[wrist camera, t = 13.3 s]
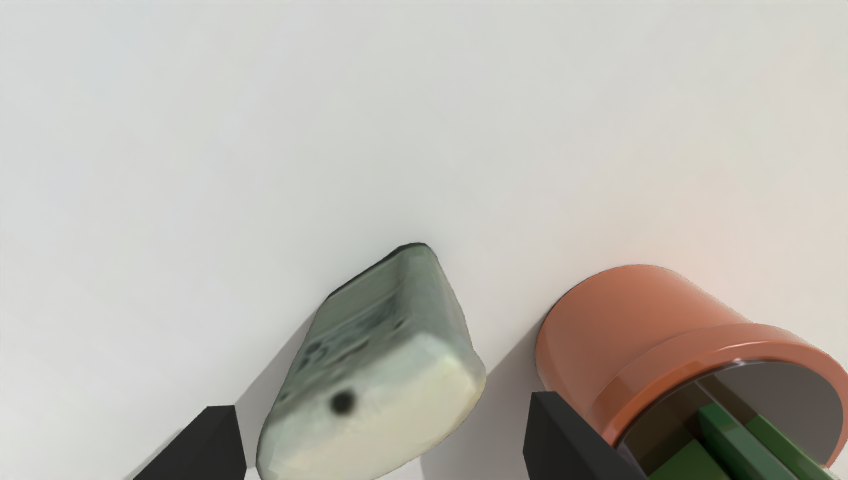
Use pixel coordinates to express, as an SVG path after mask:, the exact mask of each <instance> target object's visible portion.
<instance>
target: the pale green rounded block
mask: <svg viewBox="0 0 848 480" xmlns="http://www.w3.org/2000/svg"><path fill="white" fill-rule="evenodd" d="M486 380H487V376H486V369H485V366H484V364H483V362H482V361H481V359H480V358H479V356H478V355H477V353H476V352H475V351H474V349H473V347H472V343H471V339H470V335H469V332H468V328H467V324H466V320H465V316H464V314H463V311H462V308H461V306H460V304H459V302H458V300H457V298H456V296H455V293H454V291H453V289H452V288H451V286H450V284H449V282H448V280H447V278H446V276H445V274H444V272H443V270H442V268H441V266H440V264H439V262H438V259H437V256H436V255H435V253H434V252H433V251H432V250H431V248H430V247H429V246H428V245H426V244H425V243H410V244H407V245H402V246H399V247H398V248H397V249H395V250H394V251H392V252H391V253H390V254H389V255H387V256H386V257H385V258H383V259H382V260H381V261H379V262H377V263H376V264H374V265H373V266H371V267H370V268H368V269H366V270H365V271H363V272H362V273H360V274H359V275H357V276H356V277H354V278H353V279H351V280H350V281H348V282H347V283H345V284H344V285H342V286H341V287H339V288H338V289H336V290H335V291H333V292H332V293H331V294H330V295H329V296H328V298H327V299H326V300H325V302H324V303H323V304H322V306H321V307H320V308H319V309H318V311H317V313H316V315H315V317H314V320H313V322H312V324H311V326H310V329H309V331H308V333H307V335H306V337H305V340H304V342H303V344H302V346H301V348H300V349H299V351H298V353H297V355H296V357H295V359H294V361H293V363H292V365H291V367H290V369H289V372H288V374H287V377H286V379H285V381H284V383H283V385H282V387H281V389H280V392H279V394H278V396H277V398H276V400H275V402H274V405H273V407H272V409H271V411H270V413H269V414H268V416H267V418H266V419H265V422H264V425H263V427H262V430H261V433H260V436H259V441H258V446H257V453H256V468H257V471H258V474H259V476H260V478H261V480H374V479H376V478H379V477H381V476H383V475H385V474H387V473H389V472H391V471H393V470H395V469H397V468H399V467H401V466H403V465H404V464H406V463H407V462H409V461H411V460H413V459H415V458H417V457H418V456H420V455H422V454H424V453H425V452H427V451H428V450H430V449H431V448H433V447H434V446H436V445H437V444H438V443H440V442H441V441H442V440H444V439H445V438H446V437H448V436H449V435H450V434H451V433H452V432H453V431H454V430H455V429H456V428H457V427H458V426H459V425H460V424H461V423H462V422H463V421H464V420H465V418H466V417H467V416H468V415H469V413H470V412H471V410H472V409H473V407H474V406H475V404H476V403H477V402H478V400H479V399H480V397H481V395H482V393H483V390H484V388H485V384H486Z"/></svg>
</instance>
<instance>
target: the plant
mask: <svg viewBox="0 0 848 480" xmlns="http://www.w3.org/2000/svg"><path fill="white" fill-rule="evenodd" d="M535 362H536V368H537V372H538V374H539V377H540V379H541V381H542V383H543V385H544V387H545V389H546V391H556V392H557V393H558V394H559V395H560V396H561V397H562V398H563V399H564V400H565V401H566V402H567V403H568V404H569V405H570V406H571V407H572V408H573V409H574V410H575V411H576V412H577V413H578V414H579V415H580V416H581V417H582V418H583V419H584V420H585V421H586V422H587V423H588V424H589V425H590V426H591V427H592V428H593V429H594V430H595V431H596V432H597V433H598V434H599V435H600V436H601V437H602V438H603V439H604V440H605V441H606V442H607V443H608V444H609V445H611V446H612V447H613V448H614V449H615V450H616V451H617V452H618V453H619V454H620V455H621V456H622V457H623V458H624V459H625V460H626V461H627V462H628V463H630V464H631V465H632V466H633V467H634V468H635V469H636V470H637V471H638V472H639V473H640V474H641V475H643V476H644V477H645V478H646V479H647V480H841V479H840V478H838V477H837V476H836V475H835V474H834V473H833V472H832V471H830V470H829V468H830V467H831V465H832V464H833V463H834V462H835V460H836V459H837V457H838V456H839V454H840V452H841V451H842V449H843V448H844V446H845V444H846V442H847V439H848V374H847V373H846V372H845V370H844V369H843V368H842V366H841V365H840V364H839V363H838V362H837V361H836V360H835V359H833V358H832V357H831V356H830V355H829V354H827V353H825V352H824V351H822V350H820V349H819V348H817V347H815V346H814V345H812V344H811V343H809V342H807V341H806V340H804V339H802V338H801V337H799V336H797V335H795V334H793V333H791V332H790V331H787V330H784V329H781V328H778V327H775V326H770V325H764V324H758V323H753V322H752V321H750V320H749V319H747V318H745V317H744V316H742V315H741V314H739V313H738V312H736V311H735V310H733V309H732V308H730V307H729V306H727V305H725V304H724V303H722V302H721V301H719V300H718V299H716V298H715V297H713V296H712V295H710V294H709V293H707V292H705V291H704V290H702V289H701V288H699V287H698V286H696V285H695V284H693V283H692V282H690V281H689V280H687V279H685V278H684V277H682V276H681V275H679V274H677V273H675V272H673V271H671V270H668V269H665V268H663V267H658V266H652V265H627V266H622V267H616V268H613V269H610V270H606V271H603V272H601V273H599V274H596V275H594V276H592V277H590V278H588V279H586V280H585V281H583V282H581V283H580V284H578V285H577V286H575V287H574V288H573V289H571V290H570V291H569V292H568V293H567V294H566V295H564V296H563V297H562V298H561V299H560V300H559V301H558V303H557V304H556V305H555V306H554V307H553V308H552V310H551V311H550V313H549V314H548V315H547V317H546V319H545V321H544V323H543V324H542V327H541V329H540V332H539V334H538V338H537V342H536V349H535Z"/></svg>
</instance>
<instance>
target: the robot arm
mask: <svg viewBox="0 0 848 480" xmlns="http://www.w3.org/2000/svg"><path fill="white" fill-rule="evenodd" d="M523 455H524V459H525V463H526V467H527V471H528V475H529V478H530V480H647V479H646V478H645V477H644V476H643V475H641V474H640V473H639V472H638V471H637V470H636V469H635V468H634V467H633V466H632V465H631V464H630V463H628V462H627V461H626V460H625V459H624V458H623V457H622V456H621V455H620V454H619V453H618V452H617V451H616V450H615V449H614V448H613V447H612V446H611V445H609V444H608V443H607V442H606V441H605V440H604V439H603V438H602V437H601V436H600V435H599V434H598V433H597V432H596V431H595V430H594V429H593V428H592V427H591V426H590V425H589V424H588V423H587V422H586V421H585V420H584V419H583V418H582V417H581V416H580V415H579V414H578V413H577V412H576V411H575V410H574V409H573V408H572V407H571V406H570V405H569V404H568V403H567V402H566V401H565V400H564V399H563V398H562V397H561V396H560V395H559V394H558V393H557V392H556V391H544V392H532V395H531V402H530V408H529V415H528V421H527V427H526V434H525V440H524V447H523ZM246 470H247V466H246V461H245V456H244V451H243V446H242V441H241V436H240V431H239V426H238V421H237V416H236V411H235V406H234V405H228V406H207V407H206V408H205V409H204V410H203V411H202V412H201V413H200V414H199V415H198V416H197V417H196V418H195V419H194V420H193V421H192V422H191V423H190V424H189V425H188V426H187V427H186V428H185V429H184V430H183V431H182V432H181V433H180V434H179V435H178V436H177V437H176V438H175V439H174V440H173V441H172V442H171V443H170V444H169V445H168V446H167V447H166V448H165V449H164V450H163V451H162V452H161V453H160V454H159V455H157V456H156V457H155V458H154V459H153V460H152V461H151V462H150V463H149V464H148V465H147V466H146V467H145V468H144V469H143V470H142V471H141V472H140V473H139V474H138V475H137V476H136V477H135V478H134V479H133V480H244V477H245V473H246Z"/></svg>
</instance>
